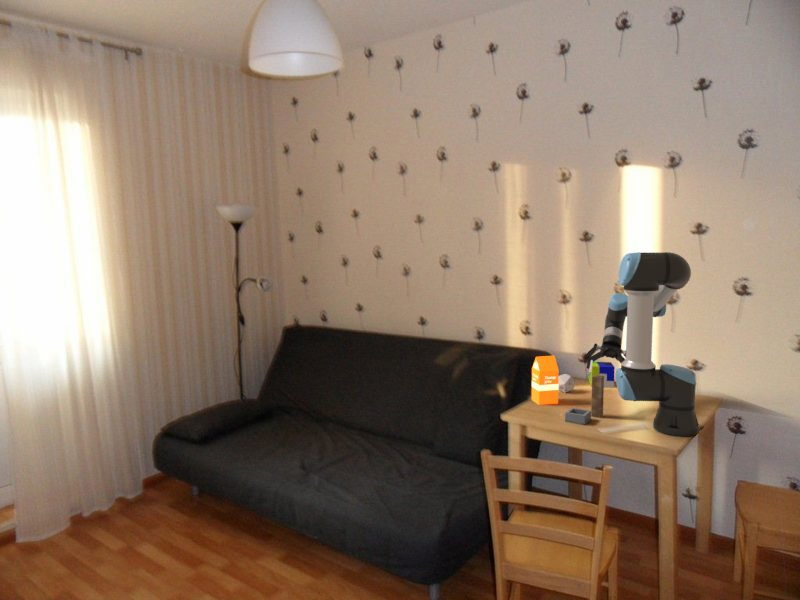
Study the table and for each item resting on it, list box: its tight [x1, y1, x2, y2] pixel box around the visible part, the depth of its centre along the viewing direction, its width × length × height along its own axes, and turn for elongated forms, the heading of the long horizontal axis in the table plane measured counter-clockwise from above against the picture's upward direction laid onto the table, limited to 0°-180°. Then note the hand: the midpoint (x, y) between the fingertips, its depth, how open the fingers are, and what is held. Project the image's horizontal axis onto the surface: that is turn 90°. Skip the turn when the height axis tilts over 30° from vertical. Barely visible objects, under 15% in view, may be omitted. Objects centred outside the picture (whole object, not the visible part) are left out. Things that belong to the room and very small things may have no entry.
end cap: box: [564, 407, 592, 426], centre depth 216 cm, size 8×8×4 cm
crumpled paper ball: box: [558, 373, 576, 394], centre depth 256 cm, size 8×9×10 cm
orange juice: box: [531, 355, 559, 406], centre depth 240 cm, size 8×9×20 cm
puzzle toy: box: [588, 361, 616, 389], centre depth 266 cm, size 10×10×10 cm
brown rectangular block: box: [590, 375, 605, 419], centre depth 221 cm, size 4×4×16 cm
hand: (607, 377), depth 221 cm, fingers open, 13 cm apart
